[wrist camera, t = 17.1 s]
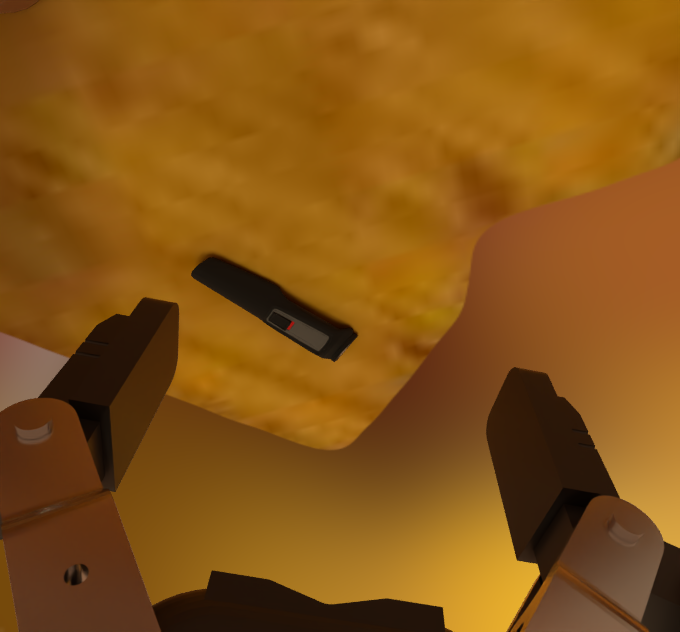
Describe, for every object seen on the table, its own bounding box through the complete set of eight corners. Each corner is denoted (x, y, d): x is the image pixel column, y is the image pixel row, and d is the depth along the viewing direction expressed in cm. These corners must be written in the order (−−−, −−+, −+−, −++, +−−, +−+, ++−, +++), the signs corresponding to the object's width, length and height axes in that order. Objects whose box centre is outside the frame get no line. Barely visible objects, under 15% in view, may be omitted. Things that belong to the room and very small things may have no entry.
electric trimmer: (212, 239, 45) (201, 255, 42) (361, 330, 49) (359, 350, 46) (193, 270, 46) (182, 288, 44) (338, 356, 50) (335, 377, 48)
